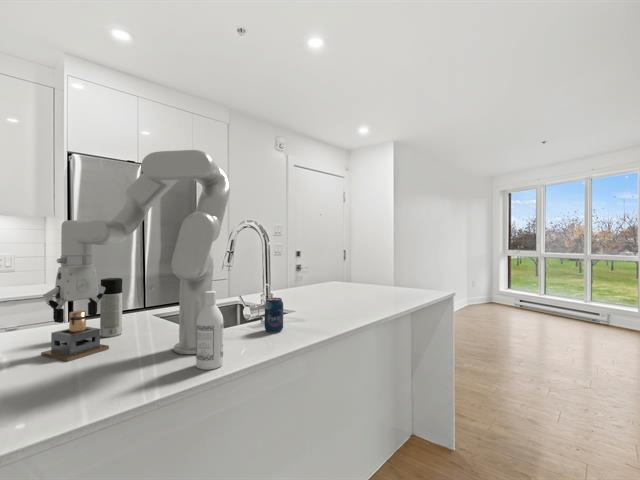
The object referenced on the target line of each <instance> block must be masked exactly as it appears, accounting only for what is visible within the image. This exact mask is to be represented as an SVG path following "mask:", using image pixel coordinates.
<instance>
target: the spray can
mask: <svg viewBox="0 0 640 480" xmlns="http://www.w3.org/2000/svg"><path fill="white" fill-rule="evenodd" d="M100 285H101V286H103V287H105V288H106V289H105V291H104V293H103V296H102V297H101V299H100V300H99V302H100V303H99V305H100V309H99V310H100V312H99V315H100V317H99V318H100V319H99V320H100V324H99V325H100V326H99V329H100V338H101V337H102V338H113V337H118V336H120V335H122V333H123V278H120V277H108V278H107V277H106V278H102V279H100Z"/></svg>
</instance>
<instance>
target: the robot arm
mask: <svg viewBox="0 0 640 480" xmlns="http://www.w3.org/2000/svg"><path fill="white" fill-rule="evenodd" d="M140 167H141V172H142V173H141V174H140V175H139V176H138V177H137V179H135V180H134V181H133V182H132V183H131V184H130V185H129V186H127V188H126V189H125V192H124V193H125V202H124V206H123V207H122V209H120V211H119V212H118V213H117V214H116V215H115V216H114V217H113V218H112V219H111V220H105V219H94V220H93V219H92V220H74V219H72V220H69V219H68V220H64V221H62V223H61V229H60V230H61V234H60V235H61V237H60V240H61V241H60V244H61V246H60V247H61V249H60V250H61V251H60V253H61V255H60V258H57V259H56V263H57V264H60V266H59V267H58V269H57V272H56V279H55V285H54V287H53V289H50V290H49V291H47V292H46V293H43V295H42V298H43V299H44V301H45V302H46V304H47V305H48V306H49V307H50V308H51V309H52V311H53V313H52V314H53V318H52V319H53V322H54V323H58V324H62V323H64V321H65V317H64V316H65V310H64V308H63V306H65V304H66V303H67V302H75V301H82V300H88V301H89V302H88V303H87V315H88V316H90V317H94V316H95V317H97V315H98V314H97V313H98V303H99V302H100V299H101V297H102V296H103V293H104V291H105V289H106V288H105V287H103V286H101V284H99V282H98V281H99V280H98V275H97V269H96V267H95V265H93V245H96V246H112V245H118V244H121V243H122V242H125V240H127V238H129V237H130V236H131V235H132V234H133V233H134V232H135V231H136V230H137V229H138V228H139V227H140V226H141V224H142V223H143V222H144V220H145V218H146V217H147V215H148V213H149V212H150V209H151V208H152V207H153V206H154V205H156V203H157V202H158V201H159V200H160V199H161V198H162V197H163V196H164V195H165V194H166V193H167V192H169V190H170V189H171V188H172V187H173V186H174V185H175V184H176V183H178V181H179V180H180V181H182V180H183V181H185V180H193V181H195V182H196V183H198V184H199V185H201V188H202V190H201V192H200V195H199V197H198V201H197V205H196V209H195V211H194V212H193V213H190V214H189V215H188V216H186V217H185V218H184V220H183V222H182V223H181V226H180V228H179V233H178V237H177V239H176V243H175V246H174V250H173V254H172V258H171V263H170V264H171V270H172V272H173V274H174V275H175V276H176V277H177V278H178V279H179V280H180V283H179V310H178V311H179V315H178V316H179V319H178V321H179V323H178V325H179V328H178V332H179V333H178V338H179V339H178V342H177V343H176V344H174V345H173V351H174V352H175V353H176V354H180V355H196V324H197V318H198V315H199V313H200V312H201V310H202V308H203V307H204V305H205V292H206V291H213V278H214V277H213V276H214V258H213V257H212V254H211V249H212V245H213V242H215V241H216V240H217V239H218V238H219V236H220V233H221V229H222V224H223V220H224V217H225V214H226V213H225V212H226V210H227V209H226V208H227V204H228V201H229V196H230V189H231V188H230V181H229V178H228V176H227V175H226V173H225V172H224V170H223V169H222V168H221V167H220V166H219V165H218V164H217V163H216V162H215V160H214V159H213V158H212V157H211V156H210V154H208V153H206V152H204V151H202V150H198V149H183V150H161V151H153V152H150V153H148V154H147V155H145V156H144V158H143V159H142V161H141V165H140ZM53 296H54V297H55V300H54V299H53Z"/></svg>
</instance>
